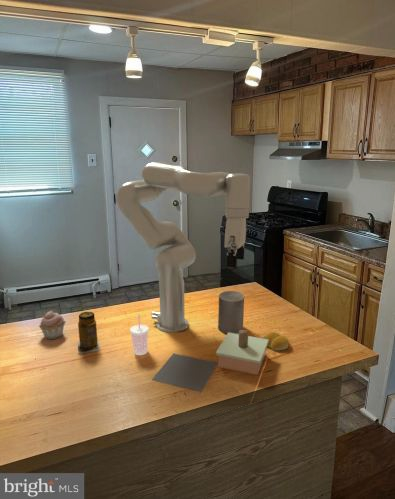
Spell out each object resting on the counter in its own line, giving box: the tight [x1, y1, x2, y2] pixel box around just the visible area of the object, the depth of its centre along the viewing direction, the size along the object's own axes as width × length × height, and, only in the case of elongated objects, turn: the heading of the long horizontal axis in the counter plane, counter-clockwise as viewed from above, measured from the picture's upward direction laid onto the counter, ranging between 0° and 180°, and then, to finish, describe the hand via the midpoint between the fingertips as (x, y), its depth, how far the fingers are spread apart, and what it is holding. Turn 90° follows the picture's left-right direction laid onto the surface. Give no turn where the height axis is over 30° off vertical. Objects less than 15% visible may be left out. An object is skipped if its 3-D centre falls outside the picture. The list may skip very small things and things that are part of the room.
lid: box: [215, 329, 269, 364], centre depth 120 cm, size 14×14×6 cm
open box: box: [217, 348, 267, 377], centre depth 122 cm, size 13×13×5 cm
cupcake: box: [38, 310, 67, 340], centre depth 138 cm, size 9×9×10 cm
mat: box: [151, 353, 218, 393], centre depth 117 cm, size 16×16×1 cm
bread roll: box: [262, 331, 290, 351], centre depth 133 cm, size 8×9×4 cm
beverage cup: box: [129, 314, 149, 356], centre depth 126 cm, size 6×6×14 cm
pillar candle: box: [217, 290, 245, 335], centre depth 143 cm, size 10×10×15 cm
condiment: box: [76, 311, 101, 354], centre depth 130 cm, size 7×8×12 cm
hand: (235, 263), depth 125 cm, fingers open, 9 cm apart
